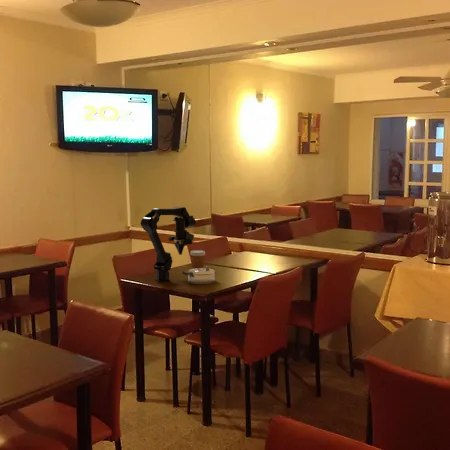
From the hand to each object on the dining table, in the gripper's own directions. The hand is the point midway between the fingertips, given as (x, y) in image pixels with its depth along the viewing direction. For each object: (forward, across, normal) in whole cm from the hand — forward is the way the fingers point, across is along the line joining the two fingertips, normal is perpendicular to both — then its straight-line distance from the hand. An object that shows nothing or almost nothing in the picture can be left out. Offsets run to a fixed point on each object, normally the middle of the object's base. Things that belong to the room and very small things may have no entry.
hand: (180, 254), depth 340 cm
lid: (+8, -18, -2) cm, 20 cm away
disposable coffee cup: (+13, +10, -18) cm, 24 cm away
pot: (+13, -18, -4) cm, 22 cm away
